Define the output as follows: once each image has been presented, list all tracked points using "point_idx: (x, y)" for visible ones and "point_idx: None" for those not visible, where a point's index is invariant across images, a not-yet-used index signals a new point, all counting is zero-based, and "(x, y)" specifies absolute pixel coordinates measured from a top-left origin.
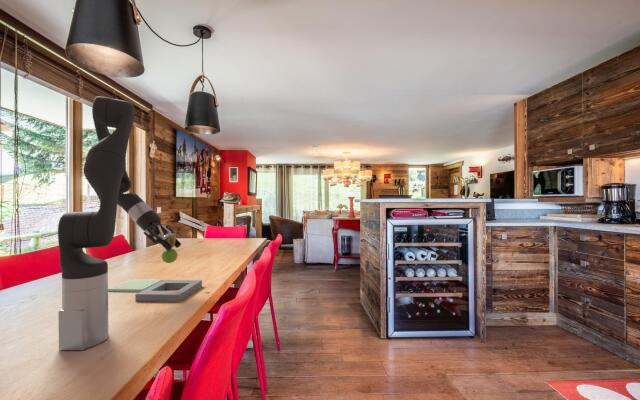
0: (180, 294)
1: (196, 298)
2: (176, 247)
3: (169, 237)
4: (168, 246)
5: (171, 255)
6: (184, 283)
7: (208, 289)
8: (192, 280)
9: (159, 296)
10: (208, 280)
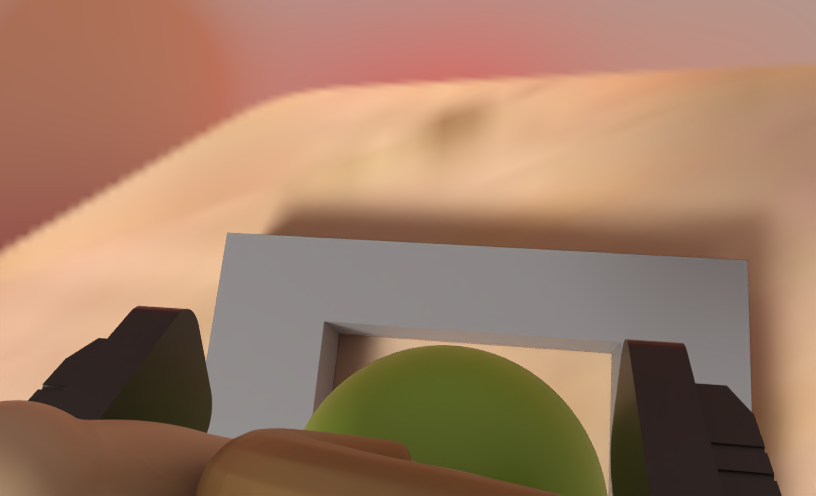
0: (723, 260)
1: (624, 162)
2: (207, 428)
3: (499, 480)
4: (738, 403)
5: (565, 407)
6: (316, 390)
7: (358, 153)
8: (221, 336)
9: None
10: (43, 263)
